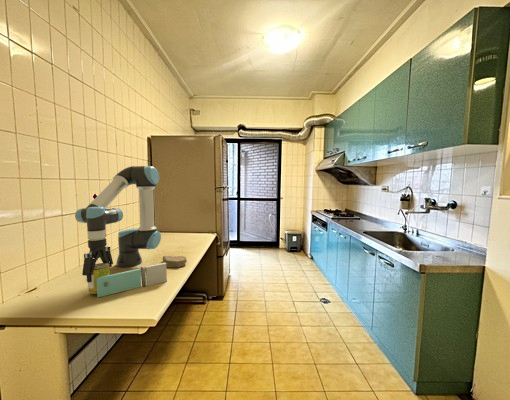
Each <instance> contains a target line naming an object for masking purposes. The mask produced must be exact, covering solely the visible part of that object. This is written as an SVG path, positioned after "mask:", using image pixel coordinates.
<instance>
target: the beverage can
mask: <svg viewBox="0 0 510 400" xmlns="http://www.w3.org/2000/svg"><path fill="white" fill-rule="evenodd" d="M89 273H90V272H89ZM92 275H94V287H95V288H94V289H91V288H88V293H89V294H90V295H97V283H96V278H97V277H102V276H107V275H111V268H110V269H109V264H108V263H103V262H100V263H96V264H95V267H94V270H93V273H92Z"/></svg>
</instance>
